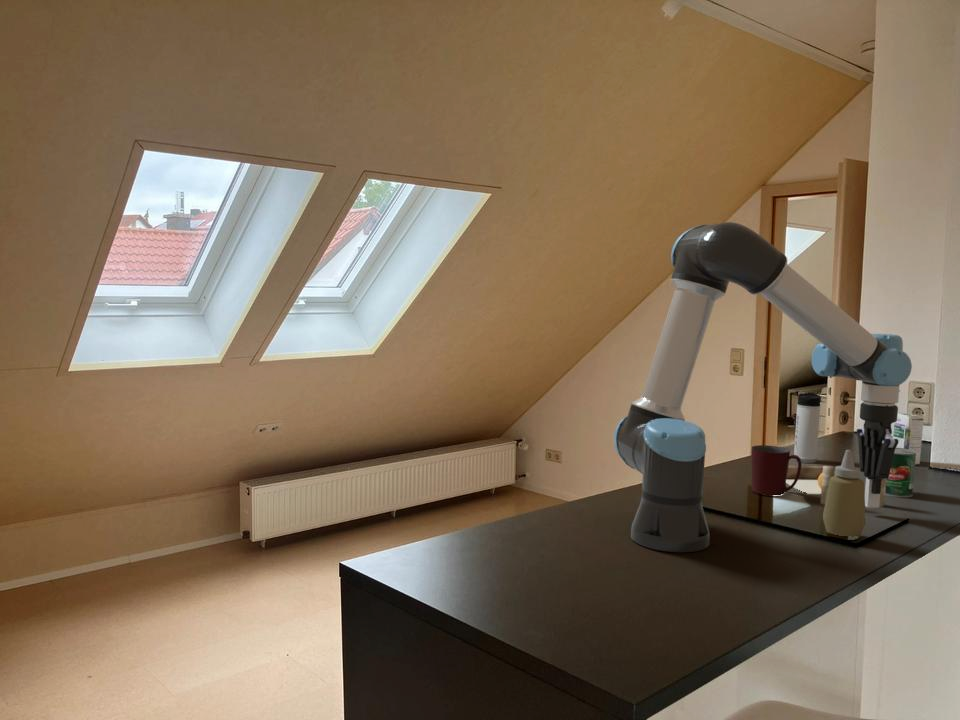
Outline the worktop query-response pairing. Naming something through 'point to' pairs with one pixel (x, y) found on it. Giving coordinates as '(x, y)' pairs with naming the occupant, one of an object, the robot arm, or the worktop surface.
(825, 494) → the post
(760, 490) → the mug
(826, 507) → the squeeze bottle
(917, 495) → the worktop surface
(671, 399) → the robot arm
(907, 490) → the canned tomato
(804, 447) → the travel mug
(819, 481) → the ball
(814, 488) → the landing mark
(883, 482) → the post
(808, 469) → the stopper strip
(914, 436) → the syrup box
